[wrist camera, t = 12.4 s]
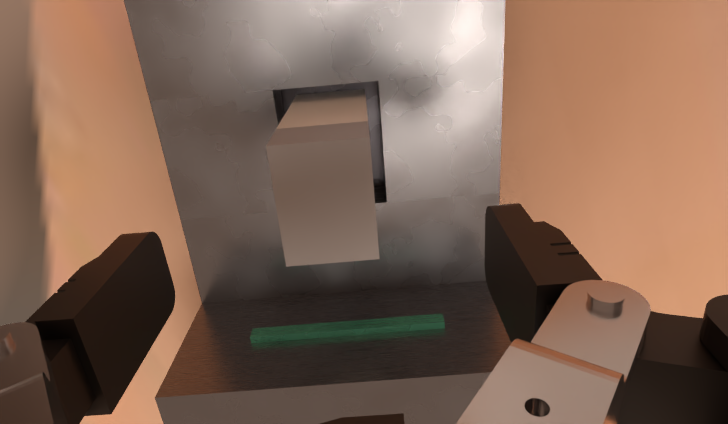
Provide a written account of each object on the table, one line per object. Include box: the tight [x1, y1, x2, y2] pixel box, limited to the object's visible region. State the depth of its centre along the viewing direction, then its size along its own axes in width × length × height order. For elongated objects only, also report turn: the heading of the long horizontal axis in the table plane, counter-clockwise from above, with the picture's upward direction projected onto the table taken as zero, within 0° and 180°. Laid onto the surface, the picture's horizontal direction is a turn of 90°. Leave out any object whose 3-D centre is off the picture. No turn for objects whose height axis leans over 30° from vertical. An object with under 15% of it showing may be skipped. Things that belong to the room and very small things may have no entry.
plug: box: [266, 89, 379, 267], centre depth 19 cm, size 4×3×8 cm
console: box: [124, 0, 511, 424], centre depth 21 cm, size 26×14×9 cm, turn 5°
